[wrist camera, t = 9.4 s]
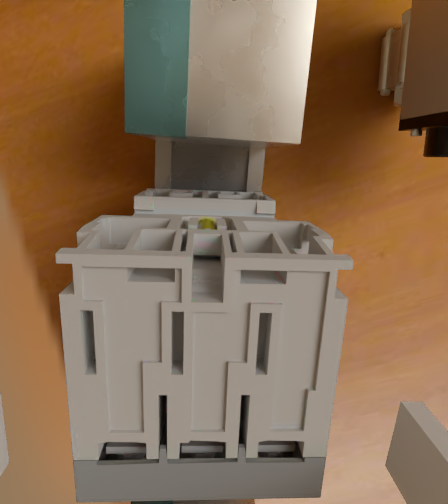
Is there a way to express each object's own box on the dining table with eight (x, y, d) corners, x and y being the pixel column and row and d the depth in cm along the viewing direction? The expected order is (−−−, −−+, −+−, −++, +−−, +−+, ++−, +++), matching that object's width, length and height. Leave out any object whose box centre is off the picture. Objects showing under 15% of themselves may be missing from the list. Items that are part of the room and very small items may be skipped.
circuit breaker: (150, 379, 27) (88, 642, 12) (147, 188, 23) (54, 242, 9) (249, 380, 27) (301, 632, 13) (262, 192, 24) (354, 250, 9)
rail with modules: (159, 42, 23) (123, -50, 13) (269, 52, 23) (320, -29, 13) (152, 454, 31) (127, 600, 21) (233, 454, 31) (248, 598, 21)
